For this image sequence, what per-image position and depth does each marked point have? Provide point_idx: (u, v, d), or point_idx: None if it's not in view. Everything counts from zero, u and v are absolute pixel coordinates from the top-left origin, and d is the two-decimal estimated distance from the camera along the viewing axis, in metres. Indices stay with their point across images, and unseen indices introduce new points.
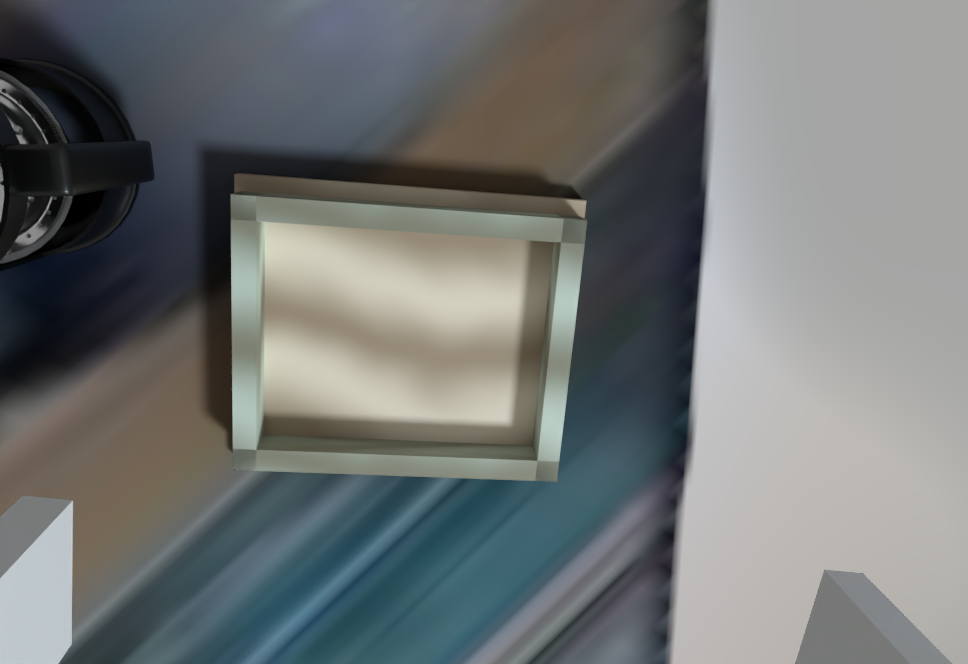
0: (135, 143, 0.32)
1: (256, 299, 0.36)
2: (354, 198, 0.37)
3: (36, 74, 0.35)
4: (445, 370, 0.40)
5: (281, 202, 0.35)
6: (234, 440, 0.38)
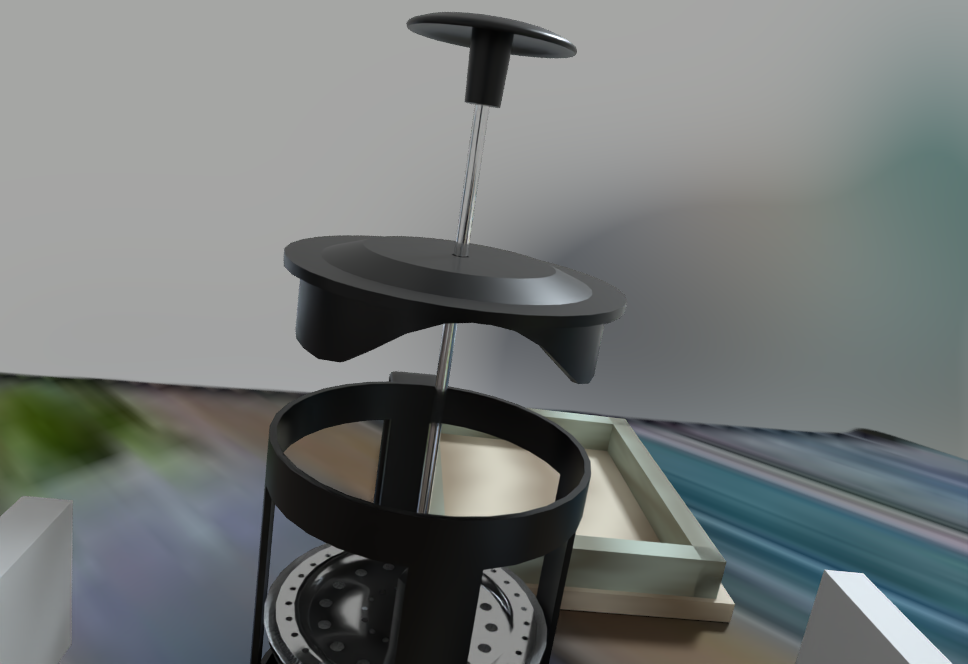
0: None
1: None
2: None
3: None
4: None
5: None
6: (691, 558, 0.34)
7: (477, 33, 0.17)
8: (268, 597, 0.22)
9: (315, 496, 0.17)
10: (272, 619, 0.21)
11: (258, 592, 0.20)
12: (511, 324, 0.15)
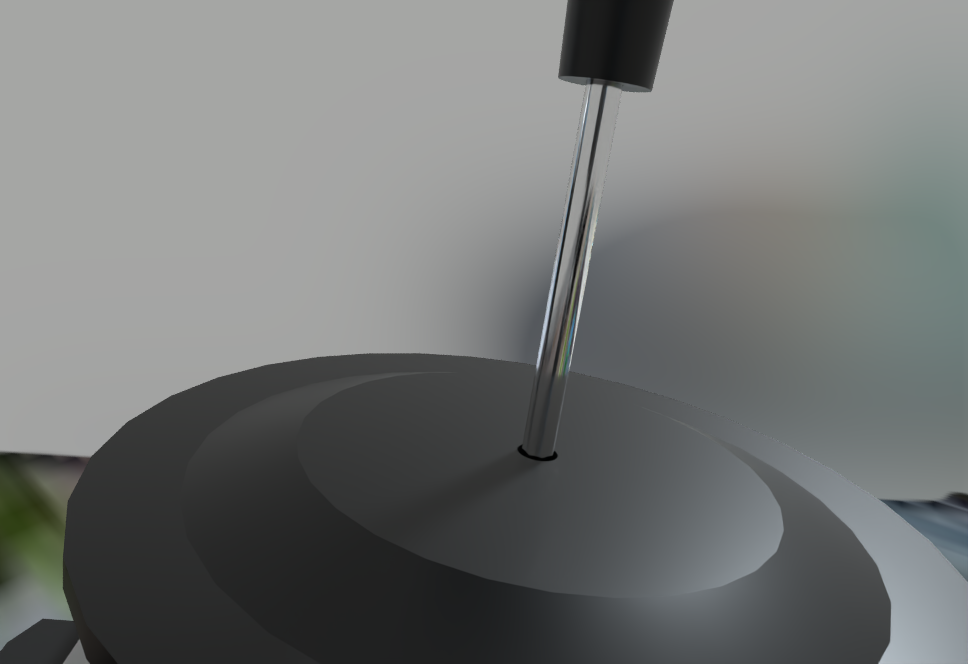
0: None
1: None
2: None
3: None
4: None
5: None
6: None
7: None
8: None
9: None
10: None
11: None
12: None
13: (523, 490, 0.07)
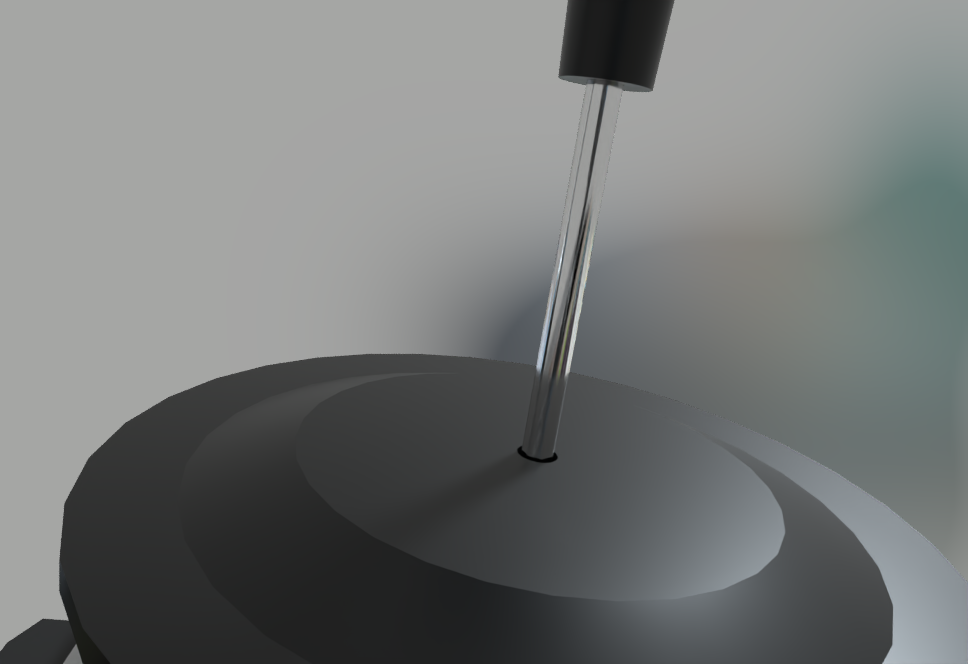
0: None
1: None
2: None
3: None
4: None
5: None
6: None
7: None
8: None
9: None
10: None
11: None
12: None
13: (523, 492, 0.07)
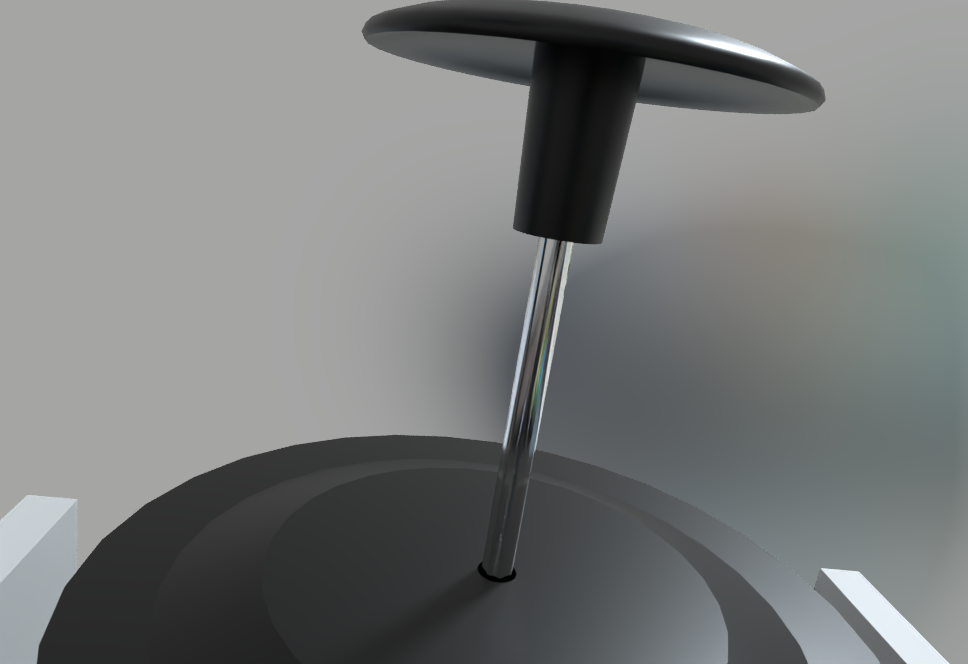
0: None
1: None
2: None
3: None
4: None
5: None
6: None
7: (553, 57, 0.07)
8: None
9: None
10: None
11: None
12: None
13: (478, 622, 0.07)
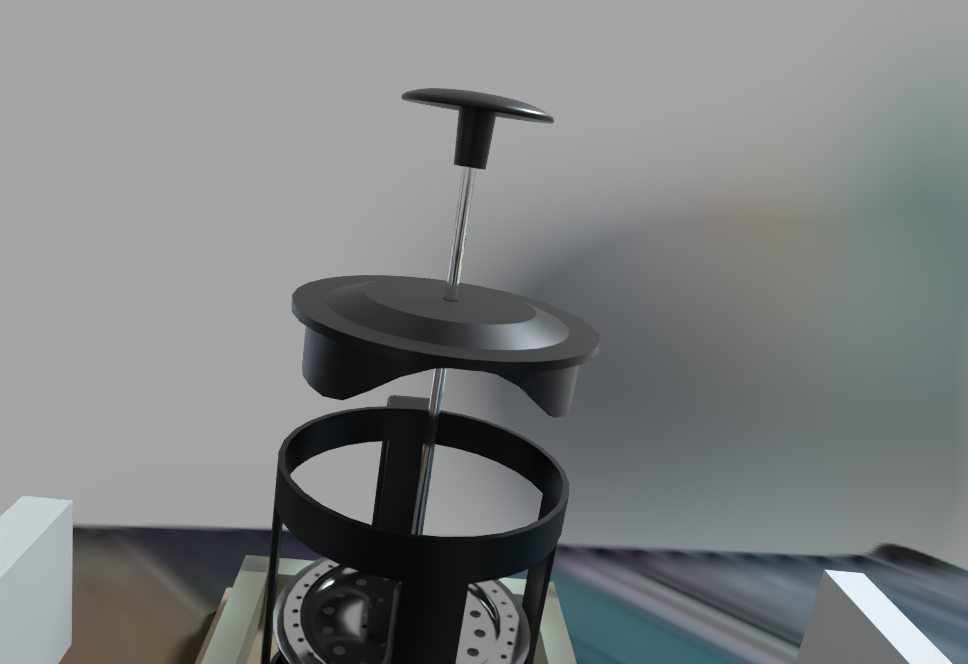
0: None
1: None
2: None
3: None
4: None
5: None
6: None
7: None
8: (276, 605, 0.24)
9: (320, 518, 0.19)
10: (280, 625, 0.23)
11: (268, 601, 0.22)
12: (492, 370, 0.17)
13: (441, 305, 0.20)
